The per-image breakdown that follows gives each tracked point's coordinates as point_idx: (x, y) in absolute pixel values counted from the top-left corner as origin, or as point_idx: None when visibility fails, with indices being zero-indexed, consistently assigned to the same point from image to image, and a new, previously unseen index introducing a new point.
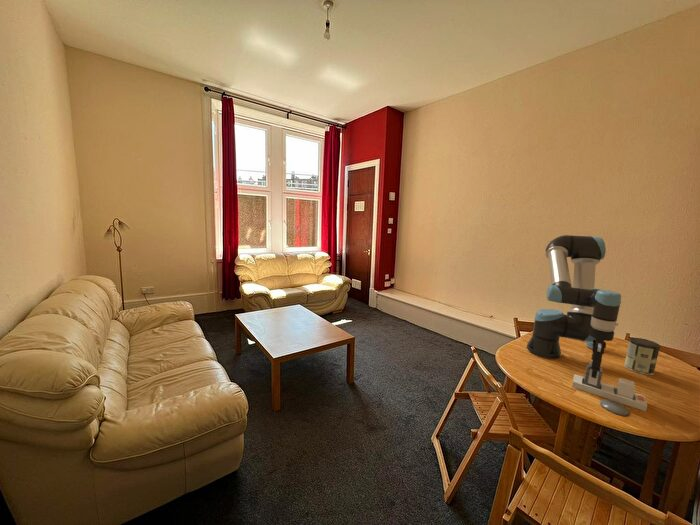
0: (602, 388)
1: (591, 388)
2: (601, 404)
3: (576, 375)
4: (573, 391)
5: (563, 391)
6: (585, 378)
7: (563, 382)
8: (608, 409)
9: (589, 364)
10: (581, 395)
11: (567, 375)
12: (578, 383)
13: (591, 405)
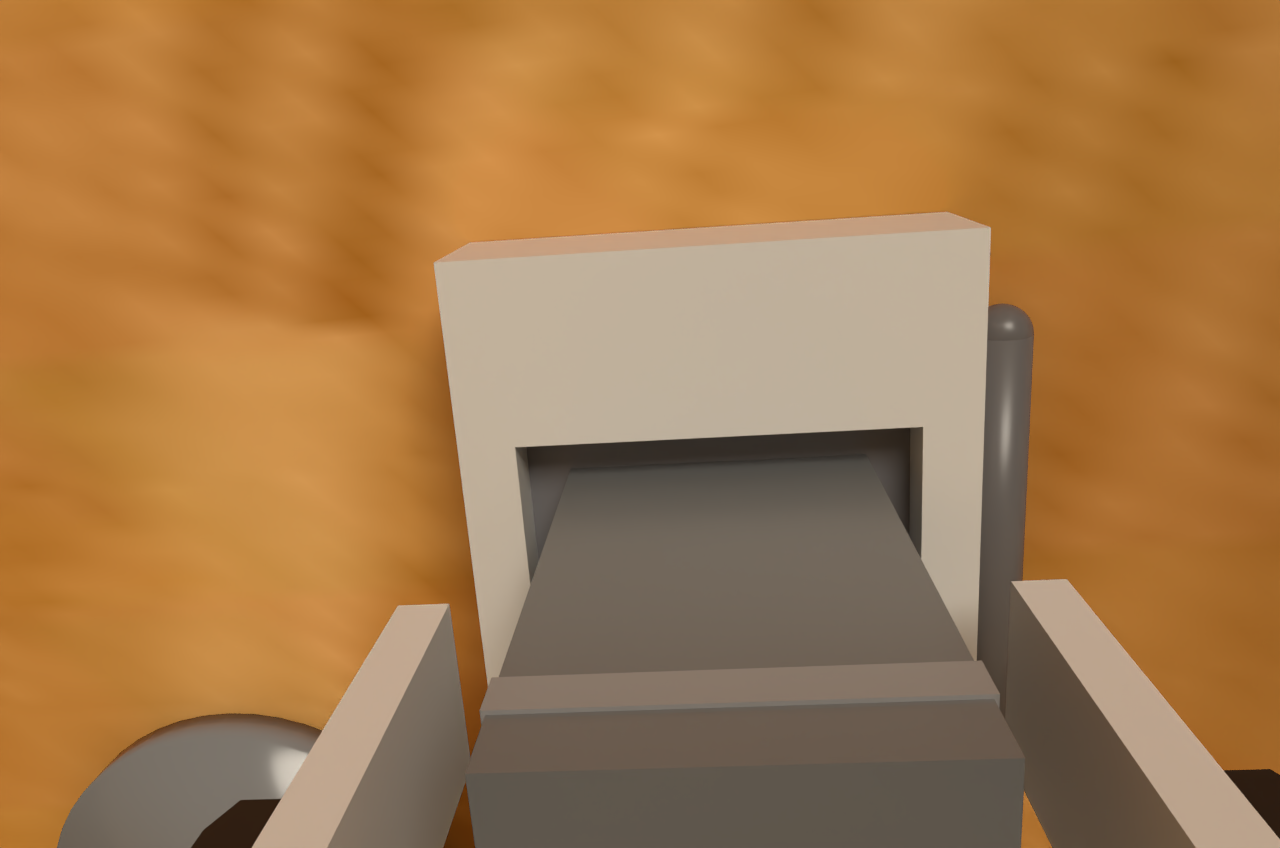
0: None
1: (485, 620)
2: (142, 746)
3: (924, 288)
4: (273, 294)
5: (69, 122)
6: (540, 559)
7: (546, 44)
8: (65, 832)
9: (983, 827)
10: (240, 440)
11: (1075, 58)
12: (451, 382)
13: (8, 609)
